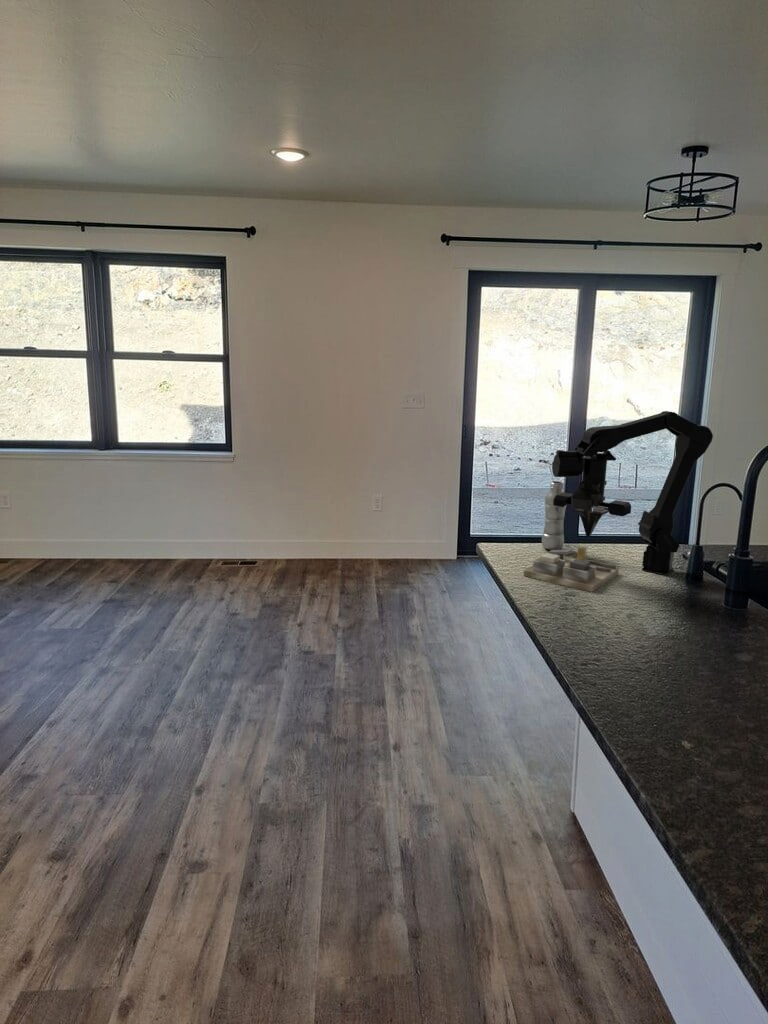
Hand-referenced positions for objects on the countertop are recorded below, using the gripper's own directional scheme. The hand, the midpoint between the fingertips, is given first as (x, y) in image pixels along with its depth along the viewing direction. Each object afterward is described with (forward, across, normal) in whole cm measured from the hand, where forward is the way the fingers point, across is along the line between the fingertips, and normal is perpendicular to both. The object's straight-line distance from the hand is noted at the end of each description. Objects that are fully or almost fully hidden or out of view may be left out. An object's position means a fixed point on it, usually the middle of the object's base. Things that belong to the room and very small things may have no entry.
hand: (588, 536), depth 168 cm
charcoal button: (+6, +3, -11) cm, 13 cm away
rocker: (+6, -7, 0) cm, 9 cm away
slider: (+8, -1, 0) cm, 8 cm away
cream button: (+6, -5, -11) cm, 13 cm away
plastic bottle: (+10, -15, +13) cm, 22 cm away
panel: (+10, -1, -6) cm, 11 cm away
